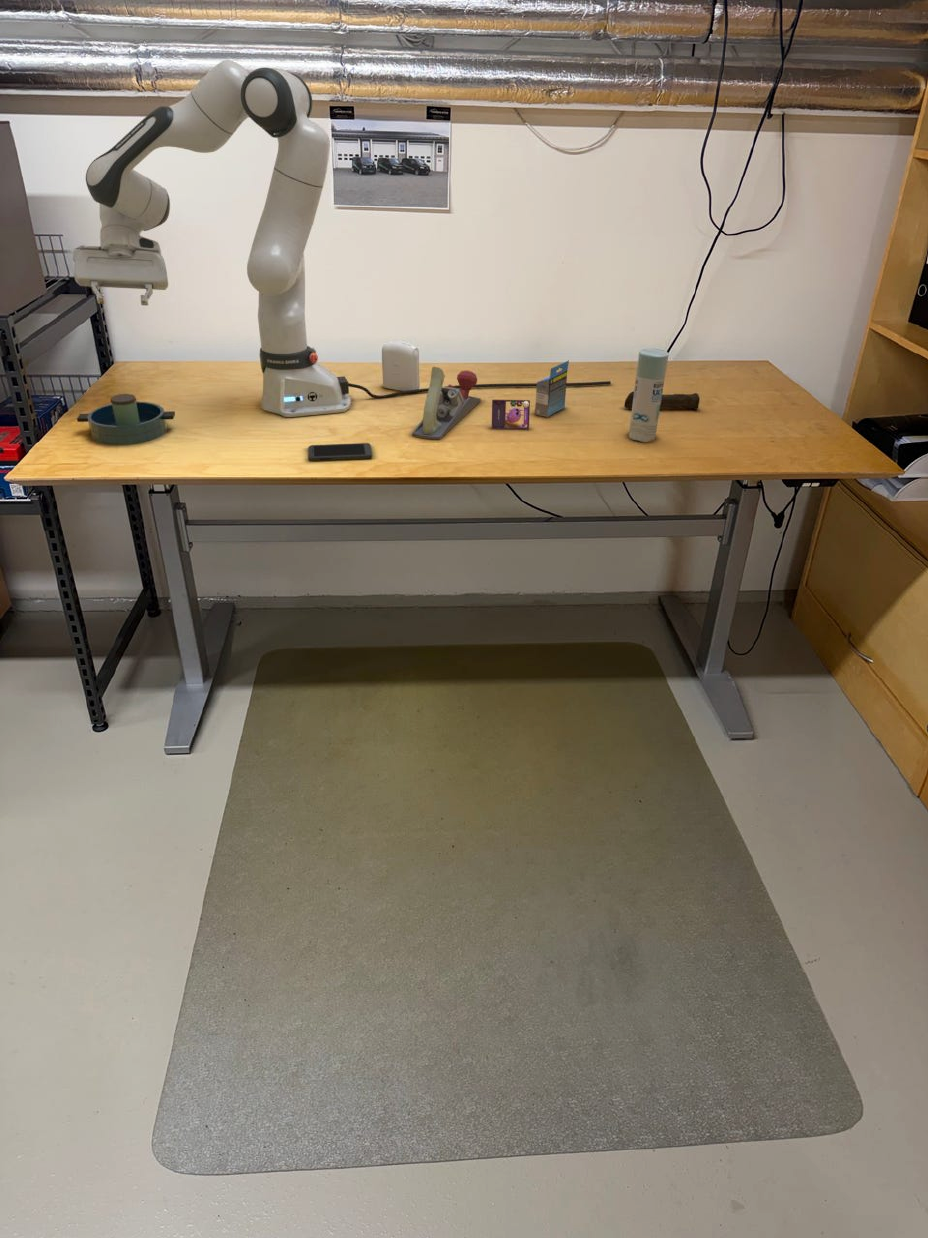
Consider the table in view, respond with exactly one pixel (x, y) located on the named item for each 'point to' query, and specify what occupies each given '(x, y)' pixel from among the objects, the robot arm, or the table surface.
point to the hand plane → (446, 404)
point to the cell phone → (340, 451)
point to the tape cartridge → (552, 392)
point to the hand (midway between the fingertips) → (122, 303)
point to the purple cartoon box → (512, 416)
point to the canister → (125, 409)
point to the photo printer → (400, 366)
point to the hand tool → (671, 401)
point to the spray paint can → (647, 394)
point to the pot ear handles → (166, 416)
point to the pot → (138, 433)
